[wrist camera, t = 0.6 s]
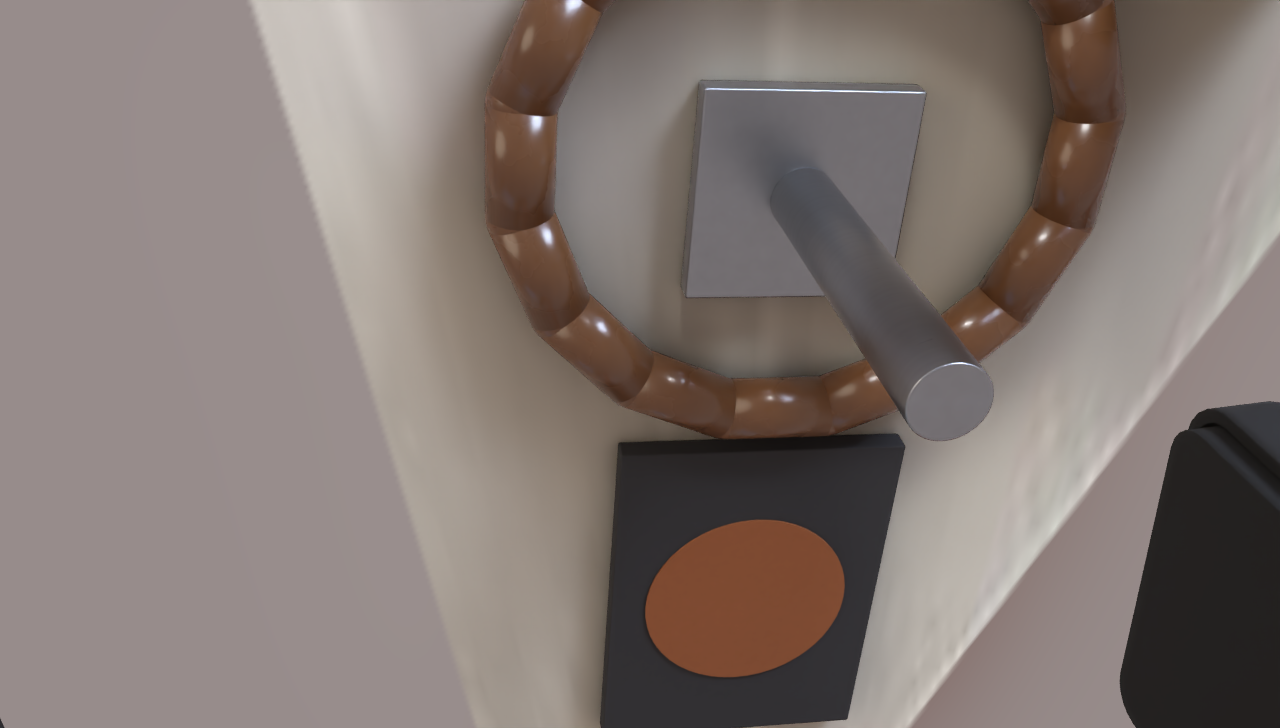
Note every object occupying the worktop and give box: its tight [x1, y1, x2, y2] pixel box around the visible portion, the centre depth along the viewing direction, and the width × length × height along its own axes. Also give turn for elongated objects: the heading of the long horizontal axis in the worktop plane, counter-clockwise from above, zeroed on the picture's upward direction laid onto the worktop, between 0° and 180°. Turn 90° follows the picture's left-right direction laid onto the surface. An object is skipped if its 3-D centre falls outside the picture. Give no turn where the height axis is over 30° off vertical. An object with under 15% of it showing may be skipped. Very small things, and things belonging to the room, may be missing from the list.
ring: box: [485, 0, 1126, 439], centre depth 41 cm, size 23×23×2 cm
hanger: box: [681, 80, 994, 441], centre depth 36 cm, size 8×8×15 cm
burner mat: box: [600, 434, 905, 728], centre depth 52 cm, size 16×12×1 cm
